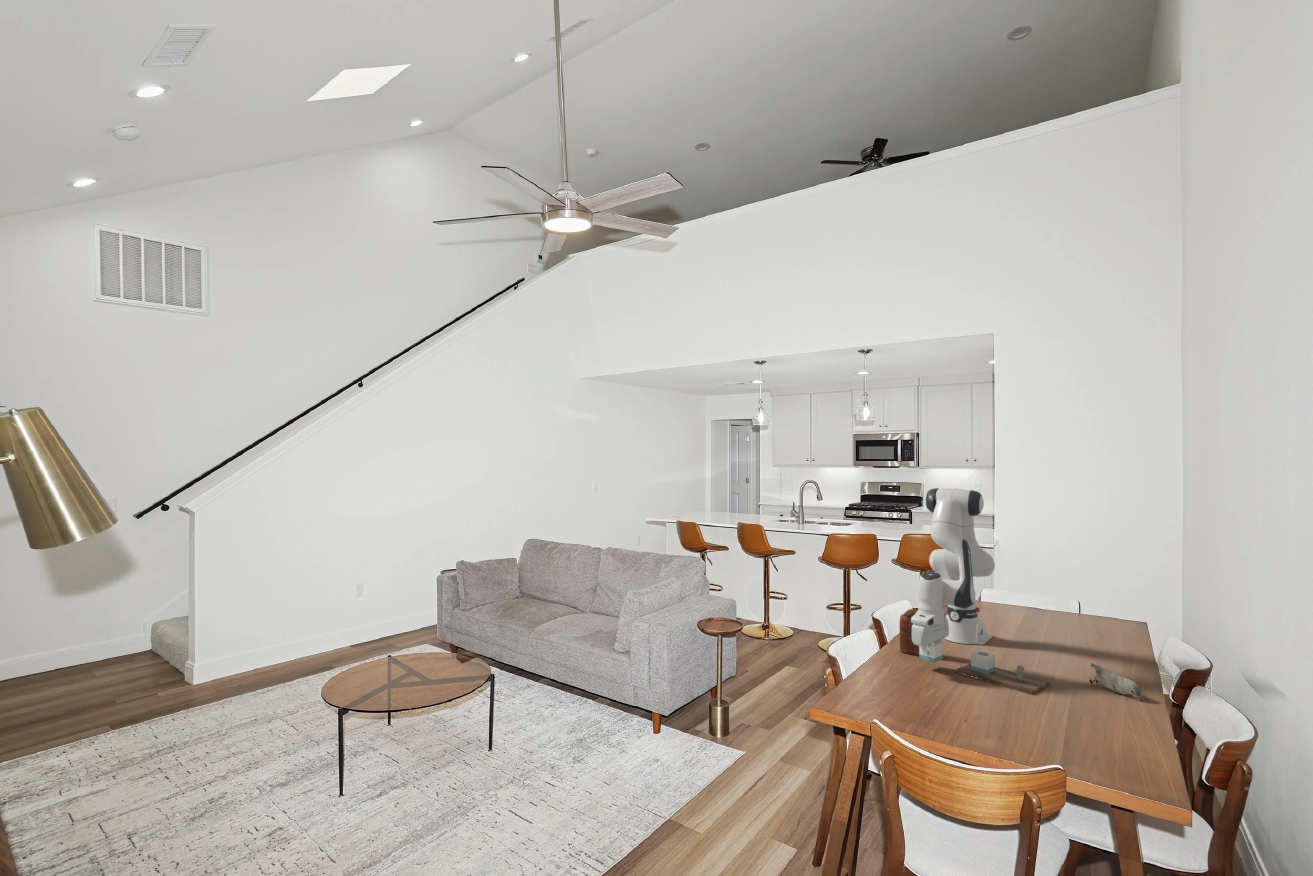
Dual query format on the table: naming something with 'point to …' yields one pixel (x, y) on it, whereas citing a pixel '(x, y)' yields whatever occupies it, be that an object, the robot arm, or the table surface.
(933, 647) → the cream sleeve
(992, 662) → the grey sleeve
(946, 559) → the robot arm
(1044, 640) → the table surface
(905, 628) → the brown leather case
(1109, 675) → the decorative bird
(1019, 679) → the pin board
